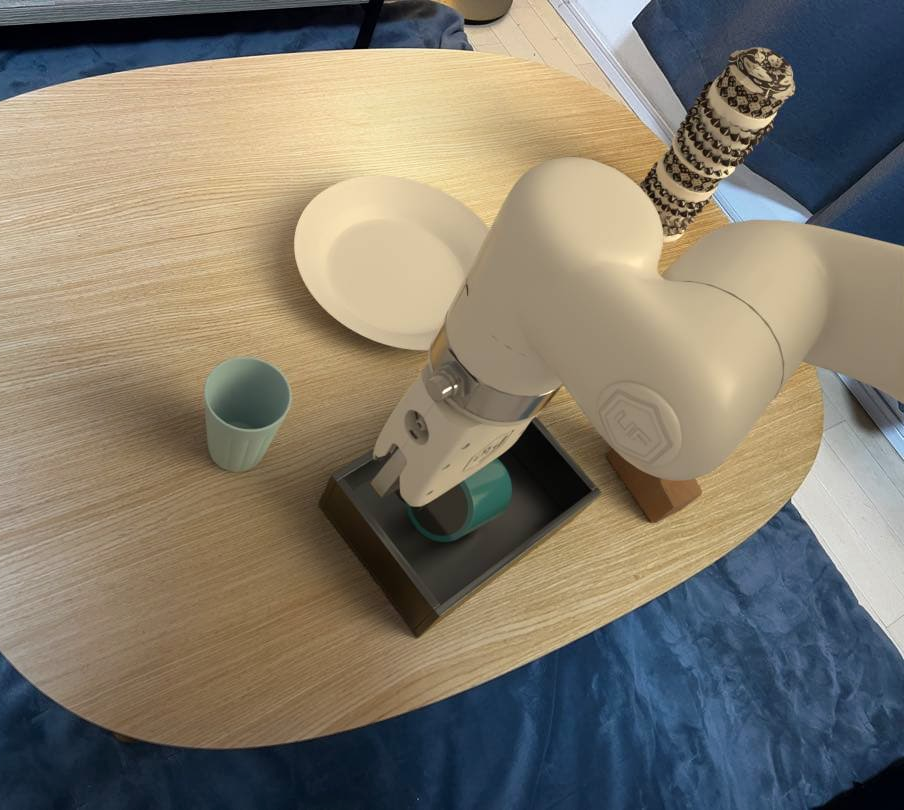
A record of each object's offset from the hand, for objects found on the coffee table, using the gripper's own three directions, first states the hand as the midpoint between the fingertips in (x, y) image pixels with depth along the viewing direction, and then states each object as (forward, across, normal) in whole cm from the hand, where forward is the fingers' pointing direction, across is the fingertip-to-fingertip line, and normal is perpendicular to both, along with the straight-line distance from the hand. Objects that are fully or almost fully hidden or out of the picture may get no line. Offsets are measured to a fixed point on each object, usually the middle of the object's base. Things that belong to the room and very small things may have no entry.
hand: (410, 491), depth 63 cm
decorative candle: (+19, +65, +17) cm, 70 cm away
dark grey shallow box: (+19, +12, 0) cm, 22 cm away
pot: (+15, +14, 0) cm, 21 cm away
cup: (+19, -2, +17) cm, 26 cm away
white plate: (+19, +26, +26) cm, 41 cm away
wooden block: (+19, +33, -9) cm, 39 cm away
